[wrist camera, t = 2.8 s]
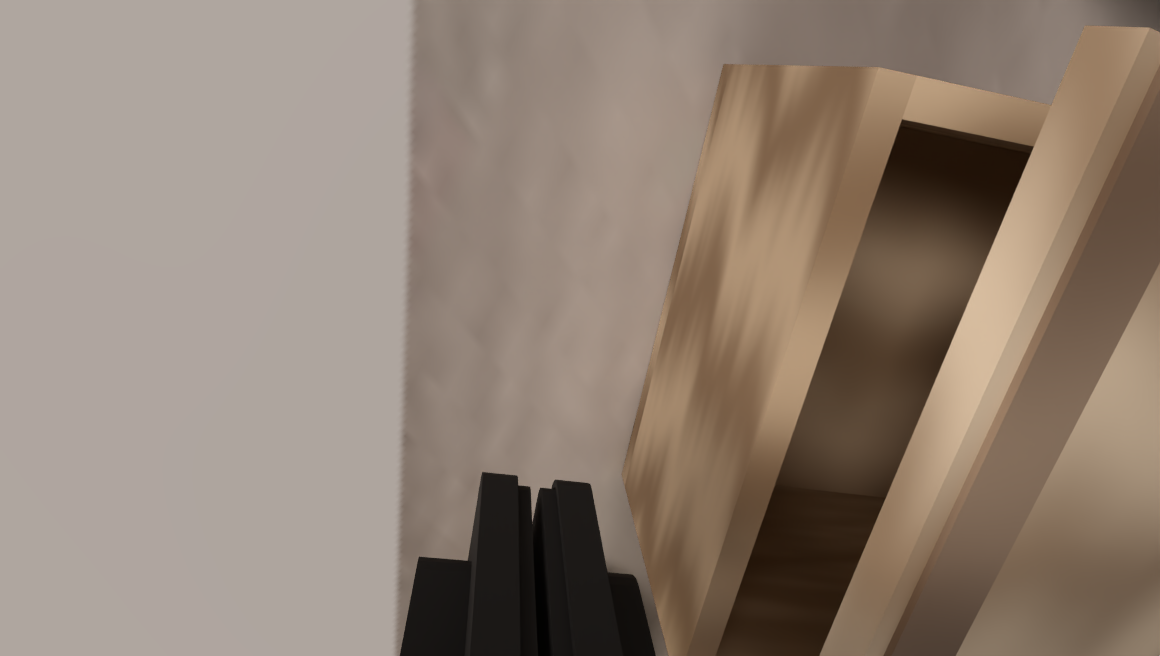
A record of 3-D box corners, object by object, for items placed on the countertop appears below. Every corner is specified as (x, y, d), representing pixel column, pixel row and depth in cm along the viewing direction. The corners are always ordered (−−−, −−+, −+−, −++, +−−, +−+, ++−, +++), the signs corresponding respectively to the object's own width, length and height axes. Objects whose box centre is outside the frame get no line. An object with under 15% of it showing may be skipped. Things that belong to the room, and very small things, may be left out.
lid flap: (1084, 26, 7) (1161, 27, 6) (1433, 173, 14) (1482, 179, 14) (694, 949, 13) (717, 993, 12) (1083, 718, 20) (1108, 739, 20)
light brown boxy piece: (723, 64, 22) (878, 67, 12) (1067, 137, 24) (1421, 186, 14) (621, 474, 27) (676, 686, 18) (906, 505, 29) (1086, 710, 20)
